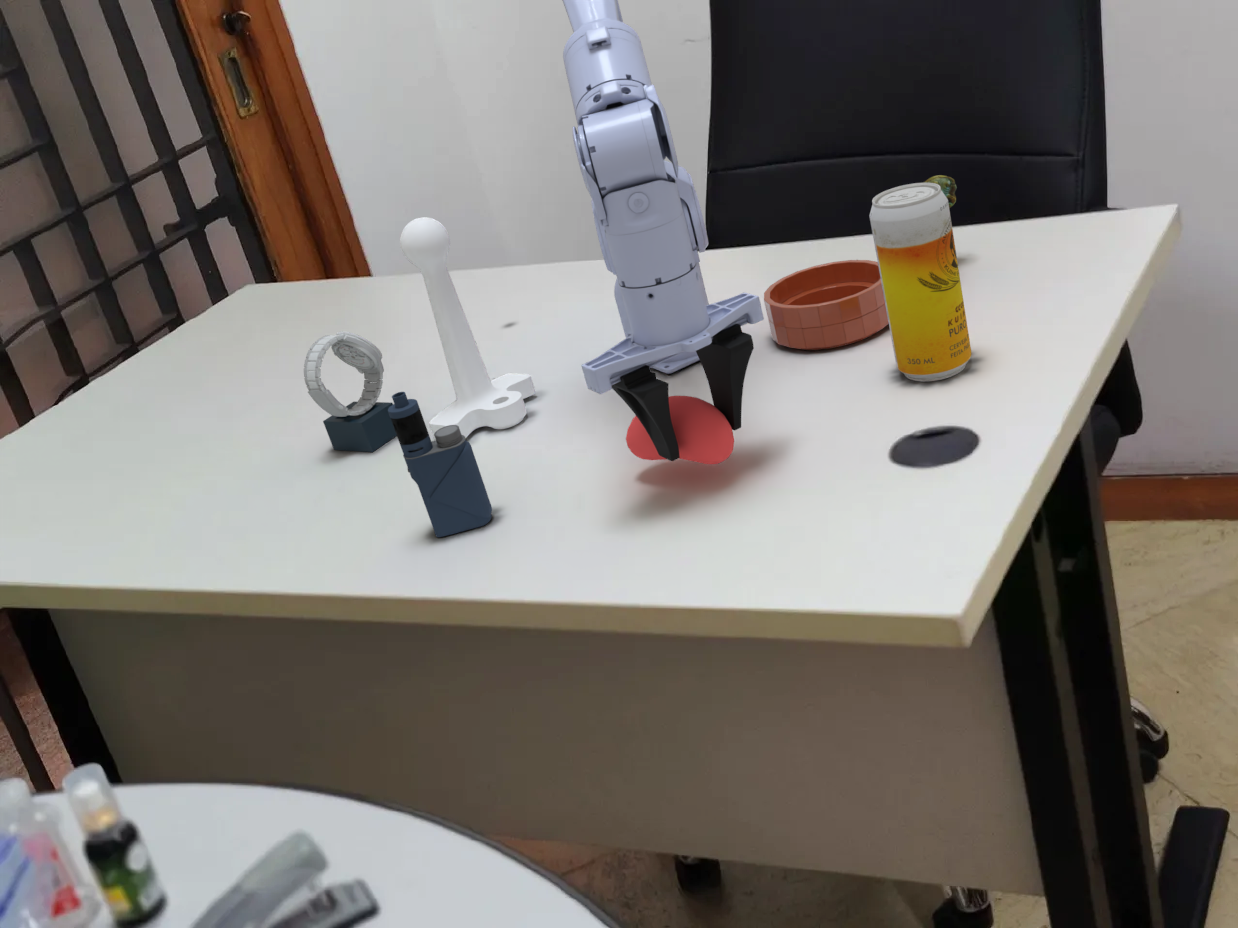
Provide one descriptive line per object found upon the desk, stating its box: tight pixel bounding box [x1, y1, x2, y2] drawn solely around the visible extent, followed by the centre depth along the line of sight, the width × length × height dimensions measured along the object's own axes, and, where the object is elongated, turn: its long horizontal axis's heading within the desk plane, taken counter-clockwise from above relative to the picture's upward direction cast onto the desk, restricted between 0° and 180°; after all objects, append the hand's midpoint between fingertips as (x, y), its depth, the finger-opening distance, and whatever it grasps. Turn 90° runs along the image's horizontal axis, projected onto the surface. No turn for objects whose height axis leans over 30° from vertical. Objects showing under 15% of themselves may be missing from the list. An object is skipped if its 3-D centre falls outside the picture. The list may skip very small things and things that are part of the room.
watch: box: [303, 330, 397, 453], centre depth 124 cm, size 6×8×11 cm
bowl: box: [763, 259, 889, 351], centre depth 120 cm, size 12×12×4 cm
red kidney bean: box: [625, 395, 735, 465], centre depth 99 cm, size 5×9×6 cm
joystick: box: [399, 216, 537, 441], centre depth 118 cm, size 11×8×20 cm
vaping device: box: [388, 391, 493, 538], centre depth 100 cm, size 3×5×12 cm, turn 95°
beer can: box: [868, 182, 973, 382], centre depth 104 cm, size 6×6×15 cm
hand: (700, 441), depth 98 cm, fingers closed on red kidney bean, 5 cm apart
